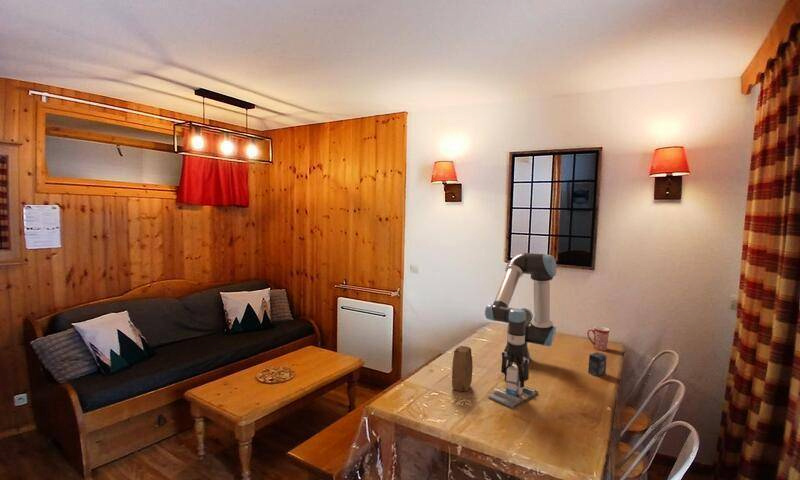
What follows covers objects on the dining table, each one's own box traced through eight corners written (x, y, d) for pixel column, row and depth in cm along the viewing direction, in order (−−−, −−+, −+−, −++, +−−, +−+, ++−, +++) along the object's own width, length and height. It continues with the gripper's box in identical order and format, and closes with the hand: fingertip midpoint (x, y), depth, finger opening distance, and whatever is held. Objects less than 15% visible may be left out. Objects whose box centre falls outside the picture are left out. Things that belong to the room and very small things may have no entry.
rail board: (488, 397, 180) (488, 391, 179) (513, 384, 194) (514, 378, 194) (513, 408, 170) (513, 402, 170) (538, 393, 185) (538, 387, 185)
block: (464, 394, 183) (465, 352, 182) (449, 389, 187) (451, 348, 186) (473, 385, 192) (475, 346, 190) (460, 381, 196) (461, 343, 195)
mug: (607, 347, 253) (609, 327, 252) (608, 352, 245) (610, 331, 244) (586, 344, 259) (587, 324, 258) (586, 348, 250) (587, 328, 249)
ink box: (515, 397, 177) (517, 372, 176) (504, 393, 180) (506, 368, 179) (521, 390, 184) (523, 366, 183) (511, 387, 187) (513, 363, 186)
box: (598, 377, 206) (599, 357, 206) (587, 373, 211) (588, 354, 210) (605, 373, 211) (607, 354, 210) (595, 370, 216) (597, 351, 215)
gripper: (494, 339, 185) (492, 386, 186) (530, 350, 171) (527, 401, 173) (503, 336, 190) (501, 382, 192) (538, 346, 176) (536, 395, 178)
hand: (513, 391), depth 182 cm, fingers closed on ink box, 6 cm apart
